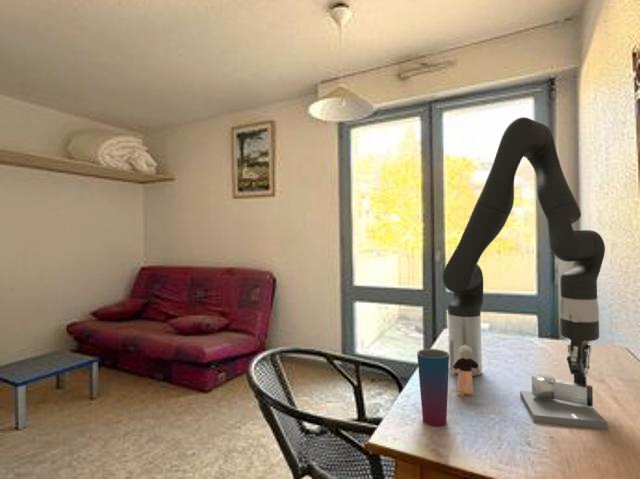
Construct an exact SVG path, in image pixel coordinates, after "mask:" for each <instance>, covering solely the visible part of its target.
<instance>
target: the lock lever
mask: <svg viewBox="0 0 640 479" xmlns="http://www.w3.org/2000/svg"><path fill="white" fill-rule="evenodd" d="M531 392H532V395H534V396H535V397H538V398H541V399H547V400H552V399H557V400H562V401H566V402H571V403H576V404H581V405H586V406H592V407H594V397H593V396H594V391H593V386H592V385H588V384H587V385H585V384H579V383H574V381H573V382H572V381H567V380H563V379H556V378H554V377H553V376H549V375H545V374H533V375H531Z"/></svg>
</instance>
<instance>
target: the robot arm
mask: <svg viewBox="0 0 640 479" xmlns="http://www.w3.org/2000/svg"><path fill="white" fill-rule="evenodd" d="M523 158H526V160H528V162H529V163H530V164H531V166H532V168H533V170H534V172H535V175H536V185H537V186H536V187H537V188H536V192H537V193H536V194H537V199H538V201H539V205H540V207H541V209H542V211H543V214H544V216H545V219H546V220H547V229H548V237H549V245H550V249H551V252H552V253H553V254H554V255H555V257H556V258H558V259H559V260H560V261H562V262H569V263H570V262H574V264H573V266H572V268H571V269H570V270H567V271H565V272H563V273H562V274H561V276H560V302H559V334H560V335H561V336H562V337H564V338H566V339H569V340H570V343H569V344H568V345H567V353H568V354H569V355H567V357H566V361H567V364H568V365H567V366H568V368H569V371H570V375H572V376H573V382H574V383H579V384H585V385H588V382H587V375H589V369H590V364H591V354H592V353H591V352H592V349H593V348H592V345H591V344H589V342H593V341H594V342H595V341H597V340H599V339H600V309H599V308H600V306H599V303H598V302H599V301H598V283H597V282H598V277H599V275H600V272H601V268H602V265H603V261H604V257H605V253H606V246H605V242H604V239H603V237H602V236H601V234H599V233H598V232H597V231H595V230H591V229H585V230H584V229H583V230H582V229H581V230H574V228H573V224H574V223H576V222H578V221H579V220H580V218H581V217H582V212H581V209H580V207H579V205H578V203H577V201H576V199H575V196H574V194H573V193H572V190H571V189H570V186H569V185H568V182H567V180H566V177H565V175H564V172H563V169H562V166H561V163H560V159H559V156H558V152H557V147H556V144H555V140H554V136H553V133H552V130H551V129H550V128H549V127H548V126H547V125H546V124H543V123H542V122H539V121H536V120H534V119H531V118H529V117H525V116H523V117H522V116H521V117H518V118H516V119H514V120H512V121H511V122H510V123H509V124H508V125H507V127H506V128H505V130H504V132H503V134H502V137H501V139H500V142H499V145H498V147H497V151H496V154H495V157H494V160H493V163H492V164H491V165H492V166H491V169H490V171H489V173H488V175H487V178H486V181H485V183H484V186H483V188H482V190H481V192H480V194H479V196H478V199H477V201H476V203H475V205H474V207H473V210H472V213H471V215H470V216H469V219H468V221H467V224H466V225H465V228H464V231H463V233H462V236H461V238H460V240H459V242H458V244H457V246H456V248H455V249H454V250H453V251H454V252H453V254H452V255H451V257H450V258H449V260H448V262H447V264H446V266H445V267H444V269H443V272H442V283H443V285H444V287H445V289H447V290H448V291H449V292H452V293H453V296H452V299H451V300H450V302H449V303H448V305H447V318H448V321H447V324H448V353H449V373H450V374H451V371H452V368H453V366H454V364H455V363H456V362H457V360H458V359H461V358H462V357H461V355H460V354H459V348H460V347H461V346H463V345H466V346H469V347H470V348H471V349H472V351H473V352H472V354H471V357H470V358H469V359H472V360H474V361H475V362H476V363H477V364H478V367H479V369H480V373H477V372H476V369H475V368H472V377H473V376H474V377H475V376H480V375H481V374H482V373H483V361H482V360H483V357H482V355H483V352H482V320H481V319H482V316H481V314H482V313H481V311H482V307H483V303H484V274H483V271H482V268H481V267H480V265H479V264H478V263H479V261H480V259H481V256H482V255H483V253H484V252H485V251H486V250H487V248H488V247H489V246H490V244H492V242H493V241H494V240H495V239H496V238H497V236H499V234H500V233H501V231H502V230H503V228H504V227H505V225H506V223H507V221H508V218H509V216H510V215H511V212H512V210H513V208H514V207H513V206H514V203H515V202H514V201H515V176H516V174H517V173H516V172H517V170H518V168H519V166H520V163H521V161H522V159H523ZM455 374H456V375H458V374H459V369H457V370H456V372H455ZM455 374H454V375H455Z"/></svg>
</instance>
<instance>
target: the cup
mask: <svg viewBox="0 0 640 479" xmlns="http://www.w3.org/2000/svg"><path fill="white" fill-rule="evenodd" d="M416 355H417V356H416V357H417V368H418V377H419V378H418V380H419V381H418V382H419V390H420V391H419V392H420V402H421V414H422V421H423V423H424V424H426V425H427V426H431V427H444V426H445V425H446V424H447V417H448V416H447V415H448V395H449V394H448V391H449V372H450V370H449V351H448V352H447V351H445V350H442V349H436V348H425V349H419V350H417V352H416Z"/></svg>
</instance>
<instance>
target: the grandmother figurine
mask: <svg viewBox="0 0 640 479" xmlns="http://www.w3.org/2000/svg"><path fill="white" fill-rule="evenodd" d="M472 352H473V351H472V349H471V348H470V347H469V346H466V345H463V346H461V347H460V348H459V354H460V355H461V357H462V358H461V359H458V360H457V362H456V363H455V364H454V366H453V368H452V371H451V373H450V375H452V376H455V372H456V370H457V369H459V374H457V375H458V376H457V391H456V396H458V397H465V396H469V397H474V396H475V393H474V392H473V376H472V368H475V369H476V372H477V373H480V369H479V367H478V364H477V363H476V362H475V361H474V360H472V359H469V358H470V357H471V354H472Z"/></svg>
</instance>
